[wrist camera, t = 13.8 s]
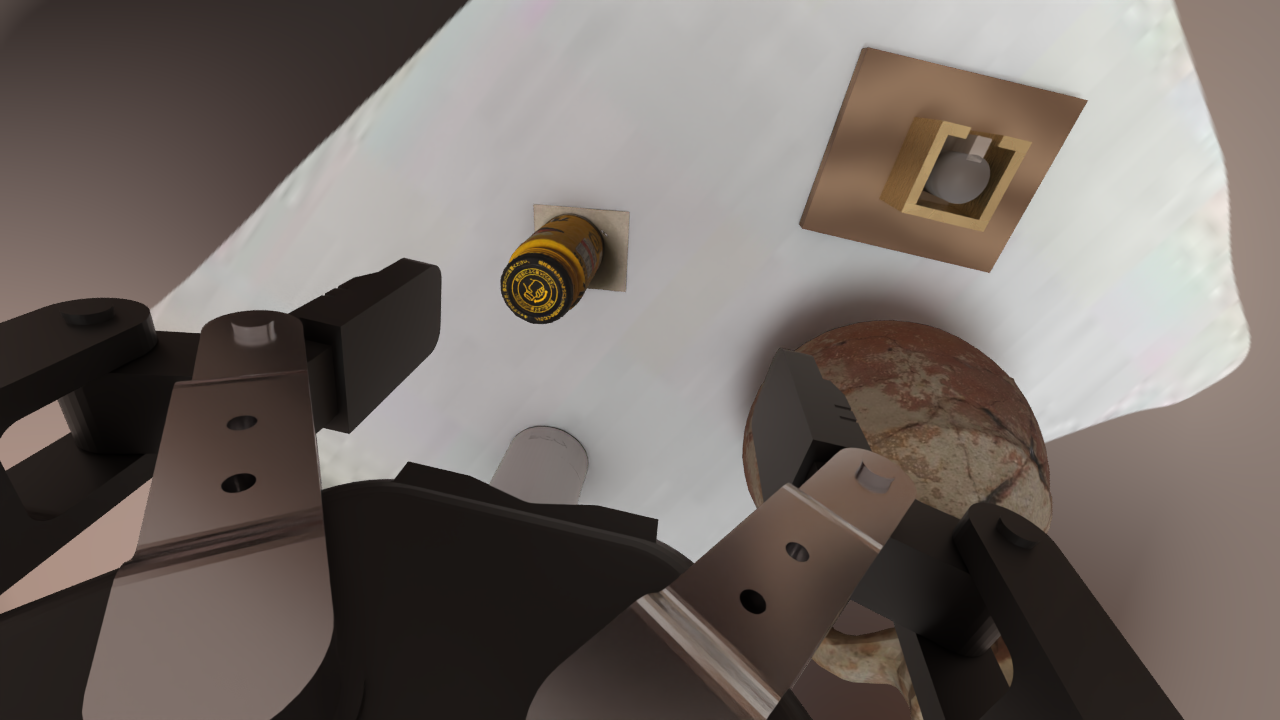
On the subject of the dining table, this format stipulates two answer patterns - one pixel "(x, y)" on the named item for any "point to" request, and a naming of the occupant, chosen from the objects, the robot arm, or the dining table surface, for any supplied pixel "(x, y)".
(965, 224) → the collar
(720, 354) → the dining table surface
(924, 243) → the keyed stand
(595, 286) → the condiment
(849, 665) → the jug
